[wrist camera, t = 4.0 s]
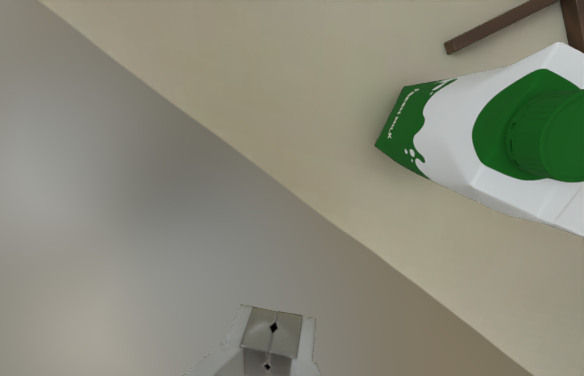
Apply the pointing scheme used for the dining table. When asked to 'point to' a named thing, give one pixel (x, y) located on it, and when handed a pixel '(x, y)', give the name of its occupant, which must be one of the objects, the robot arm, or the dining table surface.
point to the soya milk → (501, 136)
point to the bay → (575, 4)
